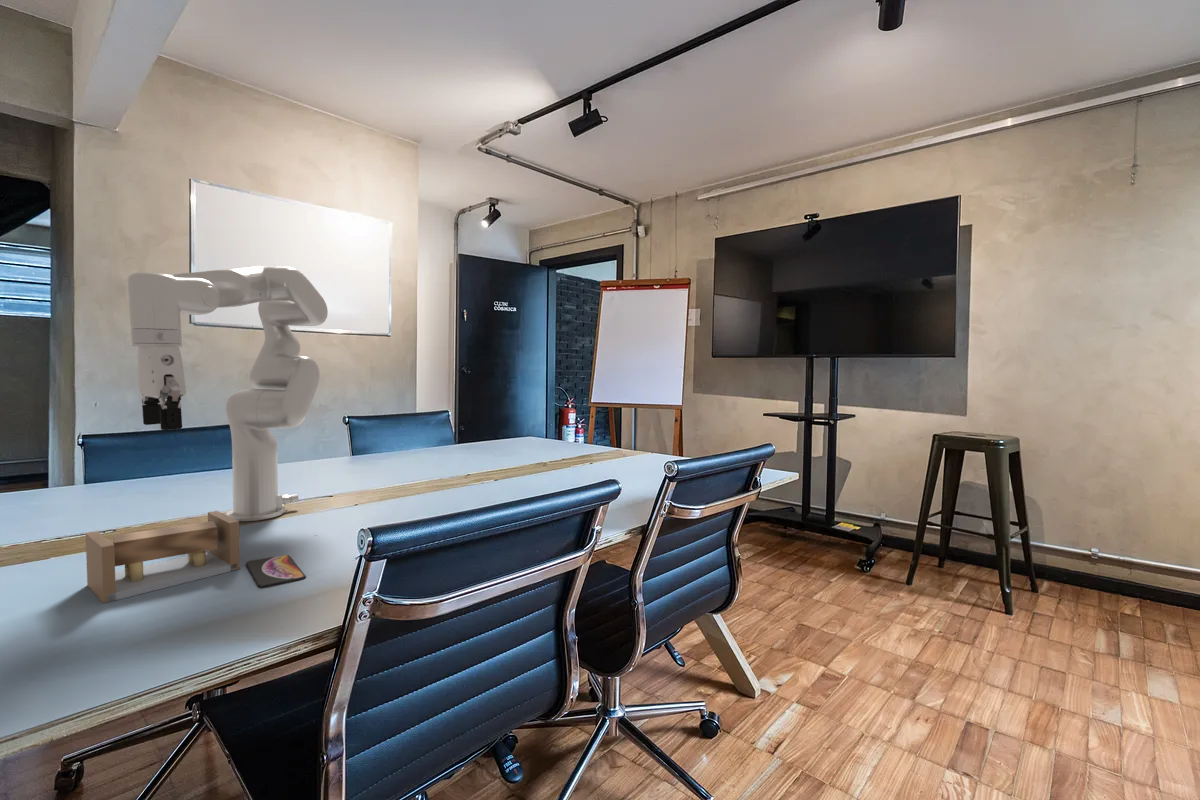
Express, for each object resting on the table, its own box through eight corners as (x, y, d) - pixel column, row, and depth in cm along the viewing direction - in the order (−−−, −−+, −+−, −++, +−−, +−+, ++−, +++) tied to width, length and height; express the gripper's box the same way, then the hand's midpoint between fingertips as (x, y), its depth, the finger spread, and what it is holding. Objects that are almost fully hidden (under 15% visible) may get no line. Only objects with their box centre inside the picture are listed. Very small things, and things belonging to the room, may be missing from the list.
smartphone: (289, 553, 108) (307, 576, 97) (288, 557, 108) (307, 581, 97) (244, 561, 103) (258, 586, 92) (244, 565, 103) (258, 591, 92)
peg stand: (217, 555, 107) (216, 510, 106) (239, 568, 100) (239, 521, 100) (87, 585, 92) (85, 533, 91) (103, 603, 85) (101, 547, 85)
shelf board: (212, 541, 103) (212, 521, 102) (217, 548, 99) (216, 527, 99) (113, 558, 93) (113, 535, 93) (114, 566, 89) (113, 542, 89)
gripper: (197, 339, 102) (202, 429, 104) (164, 338, 112) (169, 420, 114) (147, 339, 96) (153, 434, 98) (117, 337, 106) (123, 424, 108)
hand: (162, 426), depth 106 cm, fingers open, 9 cm apart
